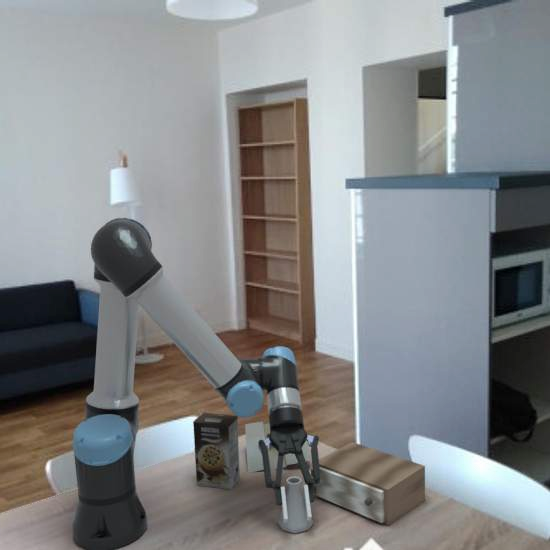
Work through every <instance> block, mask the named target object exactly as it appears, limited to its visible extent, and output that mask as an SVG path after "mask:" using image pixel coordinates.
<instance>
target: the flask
mask: <svg viewBox="0 0 550 550" xmlns="http://www.w3.org/2000/svg"><path fill="white" fill-rule="evenodd" d="M285 482H286V484H287V491H286V505H287V515H288V521H287V523H283V513H282V511H281V512H280V515H279V516H278V517H279V518H278V520H277V525H278V526H279V527H280V528H281V530H282V531H285V532H287V533H288V532H289V533H292V534H299V533H301V532H306V531H309V529H311V528H312V526H313V525H314V524H315V522H314V519H313V517H311V520H310V521H307V517H306V509H305V501H304V494H303V489H302V483H303V479H302V478H301V477H299V476H294V475H293V476H289V477H288V478H287V479H286V480H285Z"/></svg>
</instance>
